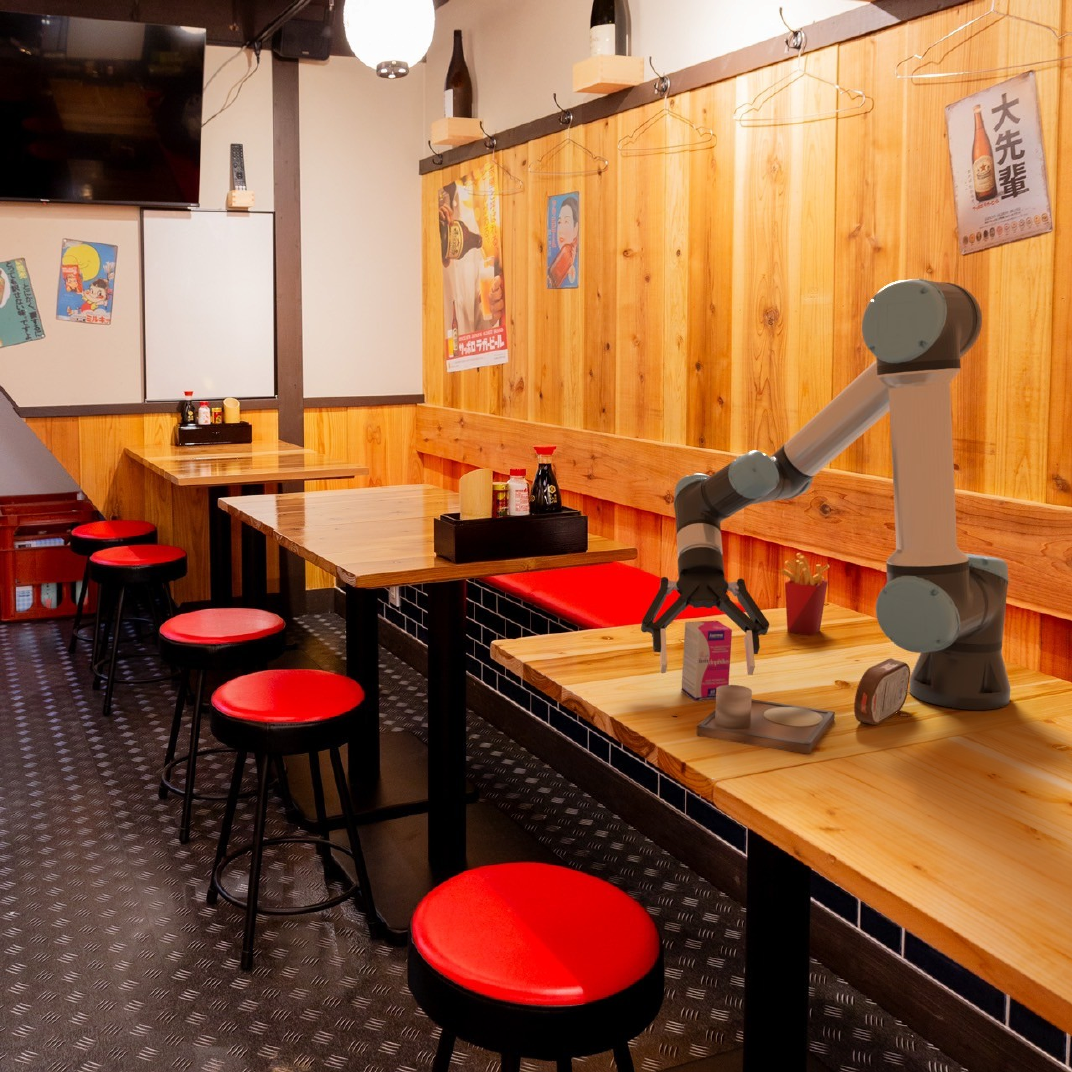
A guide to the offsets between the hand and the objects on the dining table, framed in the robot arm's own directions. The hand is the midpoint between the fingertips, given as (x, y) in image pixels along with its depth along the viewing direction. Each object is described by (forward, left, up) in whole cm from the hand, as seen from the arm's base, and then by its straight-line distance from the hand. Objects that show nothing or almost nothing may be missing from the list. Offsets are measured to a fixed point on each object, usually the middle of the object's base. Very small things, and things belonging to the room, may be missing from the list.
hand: (707, 670), depth 181 cm
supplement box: (+1, -2, -5) cm, 5 cm away
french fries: (-2, -50, -5) cm, 50 cm away
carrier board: (-12, +9, -5) cm, 16 cm away
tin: (-26, -4, -5) cm, 27 cm away
